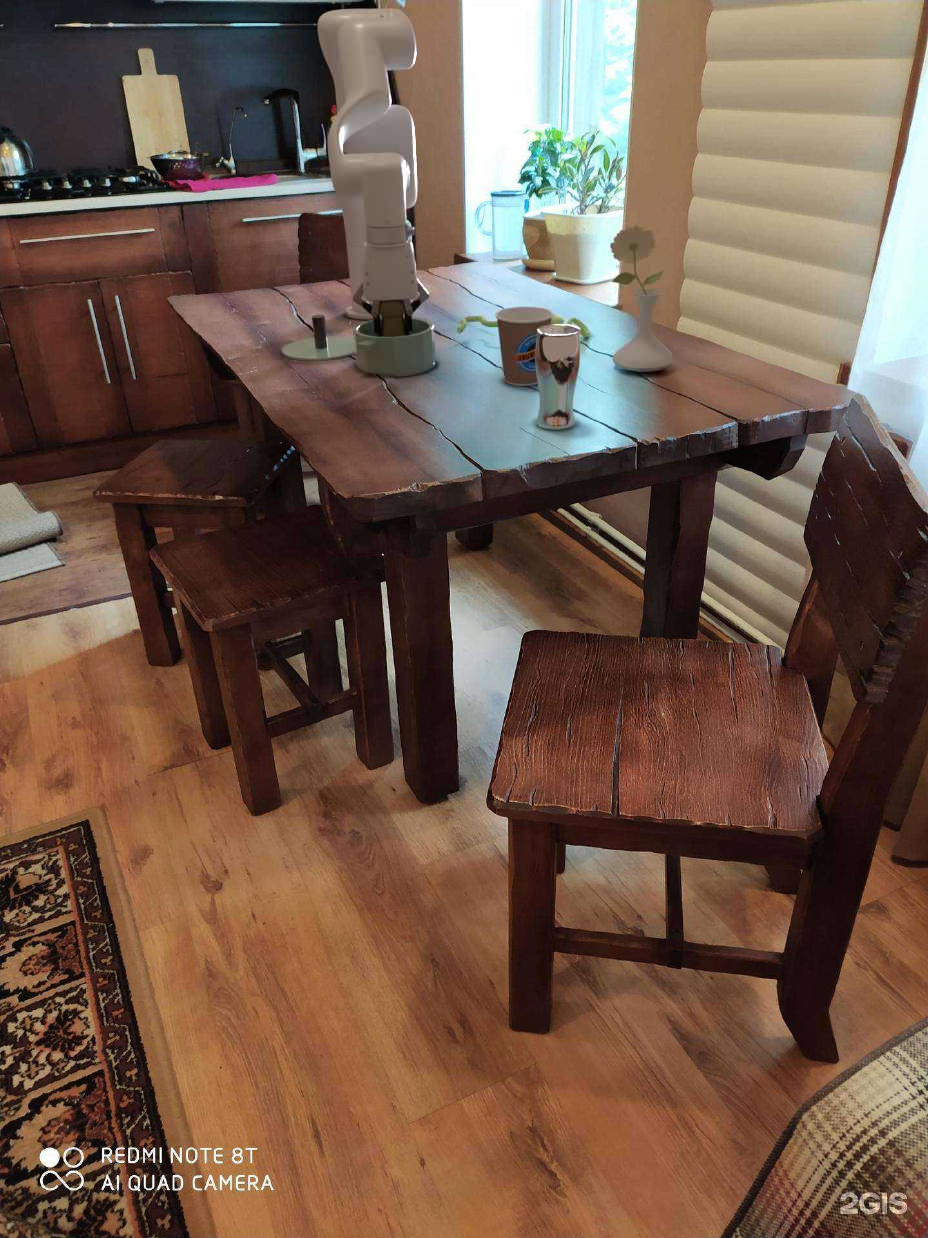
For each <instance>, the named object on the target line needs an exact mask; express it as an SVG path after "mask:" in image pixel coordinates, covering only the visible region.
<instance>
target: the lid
mask: <svg viewBox="0 0 928 1238" xmlns="http://www.w3.org/2000/svg"><path fill="white" fill-rule="evenodd" d="M311 322H312V323H311V324H312V331H313V337H309V338H303V339H302V338H301V339H298V340H295V341H291V342H289V343H288V344H285V345H284V346H283V347H282V348H281V354H282V356H284V357H285V358H288V359H291V360H296V361H302V362H319V361H320V362H323V361H331V360H333V361H334V360H338V359H343V358H347V357H350V356H353V355H355V346H354V338H350V337H346V336H345V337H343V336H328V334H327V333H328V332H327V325H326V324H327V323H326V317H325V315H324V314H314V315H312V316H311Z"/></svg>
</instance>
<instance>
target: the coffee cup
mask: <svg viewBox="0 0 928 1238" xmlns="http://www.w3.org/2000/svg"><path fill="white" fill-rule="evenodd" d="M554 314H555V313H554V312H553V311H552V310H550V309H547V308H544V307H539V306H515V307H507V308H504V309H503V308H502V309H501V310H498V311H497V312H495V315H494V316H495V318H496V321H497V323H498V327H497V331H498V339H499V348H500V354H501V363H502V374H503V375H504V376H503V377H504V380H505V383H507V384H509V385H511V386H517V387H530V386H536V385H538V382H537V376H536V367H535V350H536V339H537V329H538V328H540V327H542V326H546V325H551V318H552V317H553V315H554Z"/></svg>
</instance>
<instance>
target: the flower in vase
mask: <svg viewBox="0 0 928 1238" xmlns="http://www.w3.org/2000/svg"><path fill="white" fill-rule="evenodd" d="M609 248H610V249H611V253H612V254H613V255H612V256H613V258H614V260H617V261H618V262H622V261H623V263H624V264H633V273H630V272H627V271H625V272H624V271H623V272H621V273H619V274H617V275H616V276H615V277H614V278H613V279H612V281H611V283H616V284H620V285H625V286H626V285H630V284H631V283H632V282H634V280H635V279H636V281H637V282H638V284H639V285H640V287H641V289H637V290H635V291H633V294H634V296H635V297H636V300H637V301H638V302H637V303H638V309H639V324H638V330H637V332H636V334H635V335H634V336H633V337H632V338H630V339H629V340H628V341H626V342H625V343H624V344H622V345H621V346H620V347H619V348H618V349H617V350H616V351H615V352H614V353H613V355H612V358H611V360H612V362H613V364H614V365H615V366H617V367H619V368H621V369H623V370H625V371H631V372H637V373H639V372H640V373H648V372H657V371H661V370H663V369H666V368H669V367H670V366H671V365H672V364H673V363H674V361H675V360H674V359H675V358H674V355H673V354H672V352H671V351H670V350H669V349H668V348H667V347H666V345H664V344H663V343H662V342H661V341H659V339H658V338H657V337H656V336H655V335H654V333H653V328H652V325H653V315H654V311H655V306H656V304H657V301H658V300H659V298H660V297H661V295H662V294H663V291H662V290H659V289H653V288H645V287H644V286H647V285H653V284H655V283H656V282H657V281H659V280H660V279H661V277H662V276H663V274H664V270H661V271H659V272H657V273H654V274H650V275H648V276H647V277H646V278H645V279H644V281H643V283H642V282H641V280H640V278H639V276H638V274H637V267H636V262H641V261H642V260H645V259H648V258H649V257H650V254H651V253H652V252H653V250H654V249H655V248H656V238H654V233H653V230H652V229H646V227H645V225H641V226H639V225H638V224H635V225H634V226H631V225H630V226H629V225H628V226H626V227H625V229H621V230H619V232H618V233H616V236H614V238H613V242H610V245H609Z"/></svg>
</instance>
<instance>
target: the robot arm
mask: <svg viewBox="0 0 928 1238" xmlns="http://www.w3.org/2000/svg"><path fill="white" fill-rule="evenodd" d="M317 36H318V42H319V45H320V48H321V52H322V55H323V57H324V59H325V62H326V64H327V66H328V69H329V71H330V74H331V76H332V80H333V84H334V90H335V102H336V115H335V116H334V118H333V120H332V123H331V125H330V128H329V131H328V137H327V155H328V161H329V162H328V164H329V171H330V178H331V184H332V188H333V190H334V193H335V195H337V196H338V198H339V203H340V207H341V213H342V218H343V225H344V232H345V243H346V252H347V265H348V275H349V288H350V297H351V298H350V299H351V306H348V308H346V309H345V315H346V316H347V317H348V318H350V319H354V320H363V321H370V320H373V323H374V333H378V337H382V331H381V318H382V316H381V315H380V314H379V311H378V309H379V304H380V301H395V300H403V303H404V306H405V313H404V315H403V317H404V320H405V334H406V336H408V335H409V332H410V331H413V329H412V318H413V315H414V313H415V312H416V311H417V310H418V309H419V308H420V306H421V305H422V304H423V303H425V302H426V301H427V300H428V299H429V298H430V293H429V292H428V290H427V289H426V288H425V287H424V285H423V284H422V283H421V282H420V280H419V279H418V276H417V275H418V271H417V263H416V262H417V261H416V255H415V249H414V245H413V241H412V240H410V239H409V238H410V237H412V236H416V226H411V225H409V224H408V221H407V218H408V217H407V210H408V209H411V208H413V207H414V206H415V205H416V203H417V201H418V200H417V199H418V175H417V174H418V172H417V170H418V169H417V153H416V134H415V133H416V132H415V124H414V120H413V116H412V114H411V112H410V111H409V109H408V108H407V107H406V106H404V105H401V104H392V95H391V88H390V82H389V75H388V71H406V70H410V69H412V68H413V66H414V65H415V62H416V58H417V41H416V40H417V39H416V35H415V31H414V28H413V24H412V22H411V21H410V19H409V17H408V16H407V15H406V14H405V12H404V10H401V9H399V8H392V7H391V8H389V7H388V8H387V7H386V8H344V9H343V8H342V9H335V10H334V9H333V10H330V11H326V12H324V13H322V14H321V16H319V18H318V21H317ZM418 293H419V295H418ZM411 300H413V301H411Z"/></svg>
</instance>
